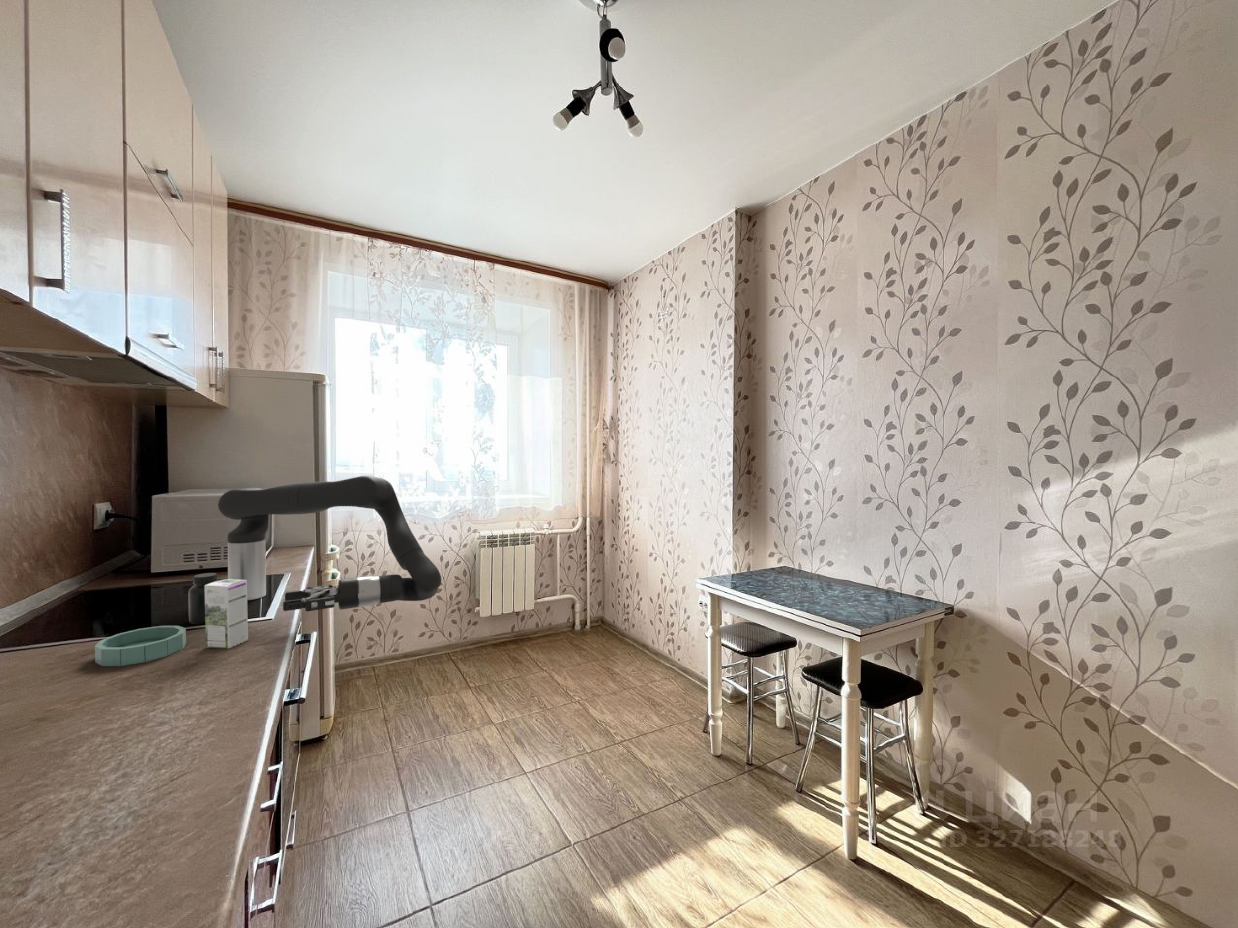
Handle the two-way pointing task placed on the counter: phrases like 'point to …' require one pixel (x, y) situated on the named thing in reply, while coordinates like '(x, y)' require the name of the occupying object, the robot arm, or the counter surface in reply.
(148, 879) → the counter surface
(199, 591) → the supplement bottle
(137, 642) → the bowl
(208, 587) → the syrup box
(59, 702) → the counter surface
